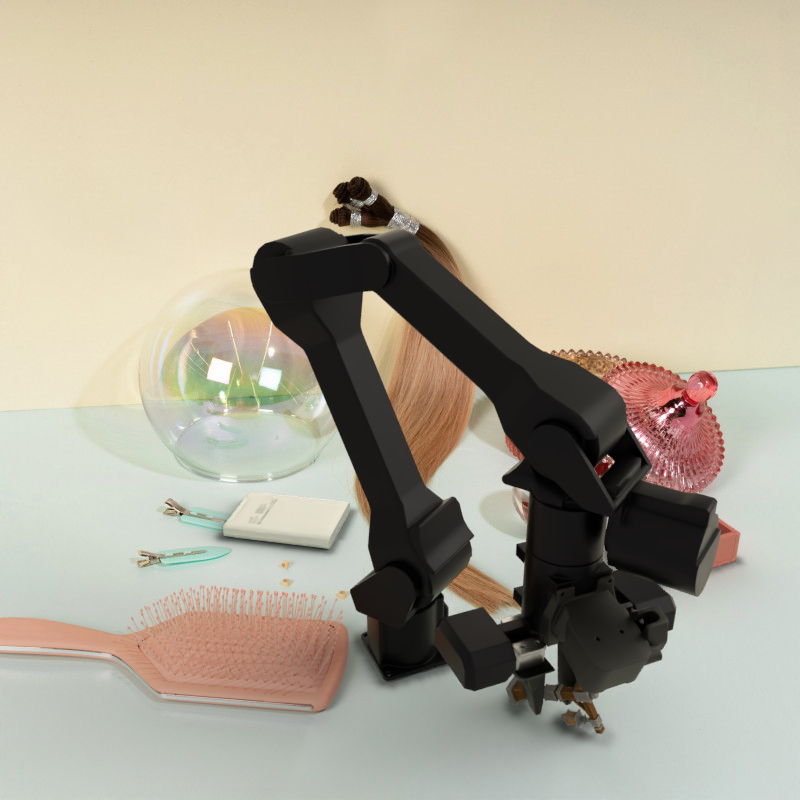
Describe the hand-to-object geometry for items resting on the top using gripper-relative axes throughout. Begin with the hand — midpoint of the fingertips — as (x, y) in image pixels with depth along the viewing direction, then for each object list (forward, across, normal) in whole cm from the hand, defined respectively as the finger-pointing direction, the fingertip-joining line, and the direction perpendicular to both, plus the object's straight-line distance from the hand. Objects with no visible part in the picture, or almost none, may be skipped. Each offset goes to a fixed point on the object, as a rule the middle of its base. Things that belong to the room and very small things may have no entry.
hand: (549, 706), depth 69 cm
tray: (+1, +24, +14) cm, 28 cm away
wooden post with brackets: (+1, +1, 0) cm, 1 cm away
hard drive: (+1, -12, +37) cm, 39 cm away
